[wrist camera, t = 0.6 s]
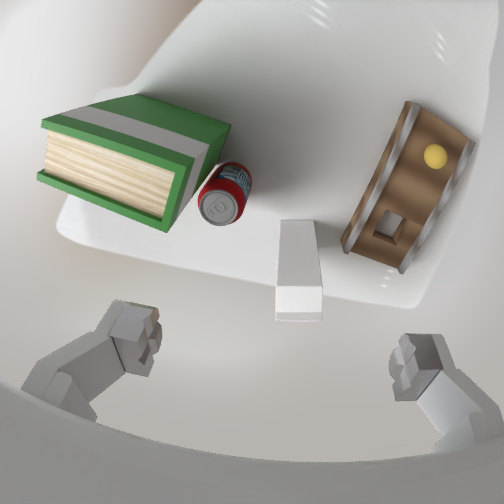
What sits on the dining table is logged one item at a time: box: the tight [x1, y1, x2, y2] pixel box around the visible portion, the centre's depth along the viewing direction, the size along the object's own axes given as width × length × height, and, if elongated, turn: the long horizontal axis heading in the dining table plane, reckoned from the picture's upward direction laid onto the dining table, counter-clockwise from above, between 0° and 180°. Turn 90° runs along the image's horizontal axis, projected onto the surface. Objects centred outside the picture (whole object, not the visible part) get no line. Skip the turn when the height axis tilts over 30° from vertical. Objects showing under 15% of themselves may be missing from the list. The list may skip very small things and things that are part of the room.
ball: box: [424, 144, 447, 169], centre depth 40 cm, size 4×4×4 cm
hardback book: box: [37, 94, 231, 233], centre depth 38 cm, size 18×7×24 cm, turn 68°
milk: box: [275, 220, 323, 321], centre depth 47 cm, size 6×6×22 cm
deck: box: [341, 101, 476, 274], centre depth 47 cm, size 28×13×4 cm, turn 162°
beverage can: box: [198, 163, 251, 226], centre depth 47 cm, size 7×7×12 cm
